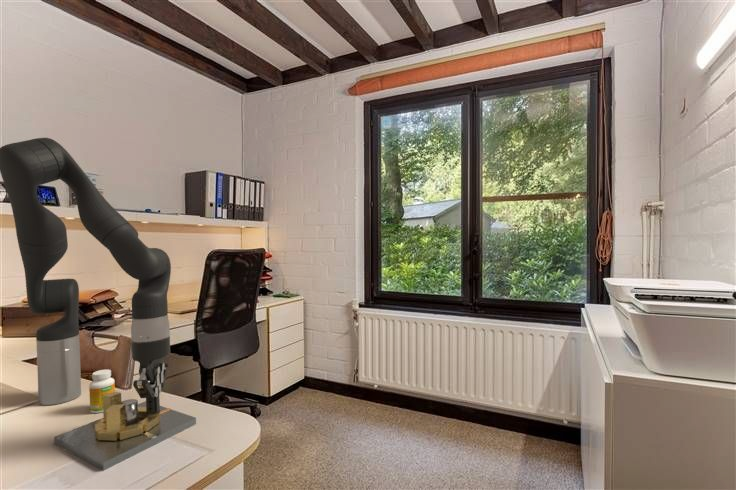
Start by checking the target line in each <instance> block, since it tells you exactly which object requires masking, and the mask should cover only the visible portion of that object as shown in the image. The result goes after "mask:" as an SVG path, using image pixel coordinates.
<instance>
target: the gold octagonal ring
mask: <svg viewBox="0 0 736 490" xmlns="http://www.w3.org/2000/svg"><path fill="white" fill-rule="evenodd" d="M120 402H122V392H119V391H116V390H115V391H114V392H111V393H108V394H106V395H103V412H102V413H103V417H102V418H103V419H101V418H100V419H101V420H100V421H98V422H96V424H95V435H96V439H98V440H111V441H117V440H118V439H119V438H120V440H122V439H126V438H129V437H133V436H136V435H139V434H143V432H147V431H148V430H150V429H151V428H152V427H154V426H155V425H156V424H158V423H159V421H160V414H159V413H160V410H159V411H158V412H157V413H156V414H147V406H146V407H138V418H145V419H144V420H142V421H141V422H139V423H137V424H134V425H130V426H126V407H125V404H120V405H117V404H118V403H120Z"/></svg>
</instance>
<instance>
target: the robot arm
mask: <svg viewBox="0 0 736 490" xmlns="http://www.w3.org/2000/svg"><path fill="white" fill-rule="evenodd" d="M0 175H1V178H2V181H3V185H4V186H5V187H4V188H5V190H6V193H7V196H8V199H9V201H10V206H11V210H12V211H11V212H12V214H13V215H12V216H13V219H14V225H15V233H16V239H17V244H18V249H19V252H20V256H21V260H22V265H23V269H24V276H25V287H26V288H25V289H26V299H27V305H28V308H29V310H30V311H31V313H33V314H35V315H47V314H49V315H50V314H58V313H59V314H60V313H64V315H63V316H62V317H61V318H59V319H58V320H56V321H54V322H51V323H49V324H46V325H43V326H41V327H40V328H38V329H37V330H36V333H35V339H36V341H35V342H36V362H37V363H36V364H37V365H36V366H37V393H38V394H37V395H38V404H39V405H43V406H51V405H58V404H62V403H63V404H64V403H66V402H69V401H72V400H74V399H77V398H79V397H80V396H81V395H82V379H81V378H82V377H81V376H82V374H81V348H80V347H81V346H80V345H81V344H80V327H79V325H80V324H79V304H80V301H79V300H80V286H79V283H78V281H77V280H76V279H75V278H57V279H45V278H46V275H47V274H49V273H48V272H49V271H51V270H52V268H54V267H55V266H56V265H57V264H58V262H60V261H61V259H62V258H63V257H65V254H66V253H67V251H68V247H69V246H68V243H69V242H68V234H67V231H68V230H67V227H66V224H65V222H63V220H62V219H61V218H60V217H59V216H58V215H57V214H55V213H54V212H53V211H51V210H50V209H48V208H47V207H46V206H45V205H44V204H42V203H41V202H40V199H39V196H38V193H37V192H38V187H39V186H41V185H45V184H48V183H52V182H56V181H58V180H60V181H62V182H63V183H65V185H67V186H68V187H69V188H70V190H71V191H72V193H73V194H74V197H75V199H76V205H77V210H78V211H77V212H78V216H79V219H80V222H81V224H82V226H83V227H84V228H85V229H86V230H87V232H88V233H89V234H90V235H91V236H92V237H94V238H95V239H96V240H97V241H98V242H99V243H100V244H101V245H102V246H103V247H105V248H106V249H107V250H108V251H109V253H110V254H111V256H112V257H113V259H114V261H115V262H116V263H117V264H118V265H119V267H120V269H122V270H123V271H124V272H125V273H126V274H127V275H129V277H131V278H133V279H135V280H138V288H137V290H136V291H135V292H133V295H132V297H131V318H132V319H131V326H130V327H131V328H130V330H131V331H130V335H131V338H130V339H131V340H130V341H131V359H132V360H133V361H134V362H138V363H139V366H138V367H139V368H138V376H139V378H138V379H136V380H135V379H134V380H133V383H132V386H133V387H134V389H135V391H136V393H137V394H138V397H139V398H140V399H145V401H146V406H147V414H156V413H157V412H158V411H159V410H160V406H161V405H160V404H161V403H160V400H161V399H160V395H161V393H162V389H164V388H165V383H166V379H167V376H168V375H167V374H168V371H169V363H168V362H165V358H166V357H168V356H169V355H170V354H171V335H170V334H171V333H170V332H171V331H170V330H171V329H170V320H169V311H168V309H169V308H168V291H169V287H170V280H171V279H170V278H171V275H172V274H171V273H172V272H171V271H172V264H171V259H170V257H169V255H168V253H167V252H166V251H164V250H163V249H161V248H159V247H158V248H157V247H150V248H149V247H148V246H147V245H146V244H145V243H144V242H143V241H142V240H141V239H140V238H139V232H138V229H136V228H135V227H134V226H133V225H132V224H131V223H130V222H129V221H128V220H127V219H126V218H125V217H124V216H123V215H121V213H119V211H118V210H117V209H115V208H114V207H113V206H112V205H111V203H109V201H107V200H106V198H105V197H104V196H103V194H101V192H100V191H99V190H98V189H97V187H96V186H95V185H94V183H93V182H92V180H91V179H90V178H89V177H88V175H87V174H86V173H85V171H84V170H83V168H81V166H80V165H79V164H78V163H77V161H76V160H75V159H74V158H73V157H72V156H71V154H70V153H69V152H68V151H67V150H66V148H64V146H62V145H61V144H60V143H59V142H57V141H56V140H54V139H53V138H50V137H37V138H32V139H28V140H23V141H19V142H18V141H17V142H11V143H8V144H5V145H3V146H1V147H0Z"/></svg>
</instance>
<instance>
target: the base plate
mask: <svg viewBox="0 0 736 490" xmlns="http://www.w3.org/2000/svg"><path fill="white" fill-rule="evenodd" d="M138 401H139V400H138V399H136V398H131V399H125V400H121V402H120V403H118V404H117V405H120V404H125V407H126V426H130V425H134V424H137V423H139V422H141V421H142V420H144V419H145V418H138V407H146V400H145V401H143V402H140V403H139V402H138ZM159 414H160V421H159V423H158V424H156V425H155V426H154V427H152V428H151V429H150V430H148V431H147V432H143V434H139V435H136V436H133V437H129V438H126V439H122V440H120V438H119V439H118V440H117V441H111V440H98V439H96V435H95V424H96V422H98V421H100V420H101V419H103V418H104V417H101V418H99V419H96V420H93V421H92V422H89V423H86V424H84V425H81V426H79V427H76V428H74V429H71V430H69V431H65V432H63V433H61V434H58V435H56V436H54V437H53V444H54V445H55V446H57V447H59V448H61V449H63V450H65V451H66V452H69V453H71V454H72V455H75V456H76V457H78V458H80V459H81V460H83V461H85V462H88V463H89V464H91V465H93V466H95V467H97V468H99V469H100V470H102V471H106V470H107V469H109V468H111V467H114V466H115V465H117V464H119V463H121V462H123V461H125V460H127V459H129V458H131V457H134V456H135V455H136V454H139V453H142V452H144V451H145V450H147V449H149V448H150V447H153V446H156V445H157V444H158V443H161V442H163V441H165V440H166V439H169V438H171V437H173V436H175V435H177V434H179V433H181V432H184V431H185V430H187V429H190V428H191V427H193V426H194V425H197V417H195V416H193V415H190V414H187V413H183V412H180V411H177V410H173V409H171V408H170V407H166V406H162V405H160V413H159Z"/></svg>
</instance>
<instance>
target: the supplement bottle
mask: <svg viewBox="0 0 736 490" xmlns="http://www.w3.org/2000/svg"><path fill="white" fill-rule="evenodd" d="M111 376H112V370H111V369H109V368H107V369H99V370H97V371H94V372H93V373H92V376H91V378H92V381H91V382H90V383H89V386H88V388H89V411H90V413H92V414H102V413H103V395H106V394H108V393H111V392H114V391H115V392H116V386H115V385H116V384H115V383H116V382H115V378H114V377H111Z"/></svg>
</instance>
